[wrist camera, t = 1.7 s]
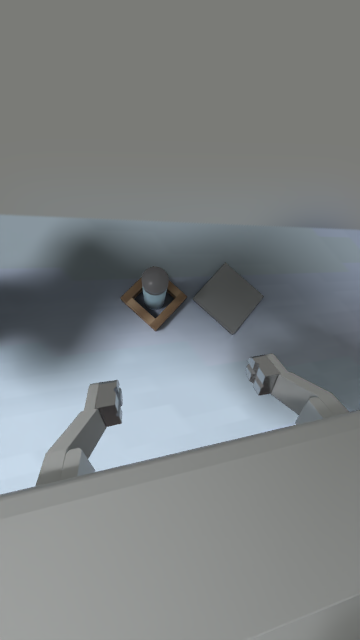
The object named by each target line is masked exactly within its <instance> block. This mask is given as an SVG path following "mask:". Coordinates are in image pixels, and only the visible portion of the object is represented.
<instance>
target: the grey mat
mask: <svg viewBox="0 0 360 640" xmlns="http://www.w3.org/2000/svg"><path fill="white" fill-rule="evenodd" d="M263 297H264V296H263V295H262V294H260V293H259V292H258V291H257V290H256V289H255V288H254V287H253V286H251V285H250V284H249V283H248V282H247V281H246V280H245V279H244V278H242V277H241V276H240V275H239V274H238V273H237V272H236V271H234V270H233V269H232V268H231V267H230V266H229V265H228V264H227V263H225V264H224V265H223V266H222V267H221V268H220V269H219V270H218V271H217V272H216V273H215V275H214V276H213V277H212V278H211V279H210V280H209V281H208V282H207V283H206V284H205V285H204V287H203V288H202V289H201V290H200V291H199V292H198V293H197V294H196V295H195V296H194V297H193V300H194V301H195V302H196V303H197V304H198V305H199V306H200V307H202V308H203V309H204V310H205V311H206V312H207V313H208V314H209V315H210V316H212V317H213V318H214V319H215V320H216V321H217V322H218V323H219V324H221V325H222V326H223V327H224V328H225V329H226V330H227V331H228V332H229V333H231V334H232V335H233V334H234V333H235V332H236V330H237V329H238V328H239V327H240V326H241V324H242V323H243V322H244V321H245V319H246V318H247V317H248V316H249V314H250V313H251V312H252V311H253V309H254V308H255V307H256V306H257V304H258V303H259V302H260V301H261V299H262V298H263Z"/></svg>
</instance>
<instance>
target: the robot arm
mask: <svg viewBox="0 0 360 640" xmlns="http://www.w3.org/2000/svg"><path fill="white" fill-rule="evenodd" d="M248 363H249V364H248V365H247V367H246V375H247V377H248V379H249V381H251V382H252V383H253V388H254V389H255V391H256V392H257V394H258V396H259V395H265V394H270V393H271V395H273V396H274V397H275V398H277V399H278V400H279V401H281V402H282V403H283V404H285V405H286V406H287V407H289V408H290V409H291V410H293V411H294V412H295V413H297V414H298V415H299V416H298V418H297V419H296V422H295V424H296V425H293V426H289V427H285V428H281V429H276V430H272V431H268V432H264V433H259V434H255V435H251V436H247V437H242V438H238V439H234V440H230V441H225V442H221V443H217V444H213V445H208V446H204V447H200V448H196V449H191V450H187V451H183V452H179V453H175V454H170V455H166V456H162V457H158V458H153V459H149V460H145V461H141V462H136V463H132V464H128V465H124V466H119V467H115V468H111V469H107V470H103V471H98V472H95V469H94V468H93V466H92V465H91V463H90V462H89V460H88V458H89V457H90V455H91V453H92V451H93V450H94V448H95V446H96V445H97V443H98V441H99V440H100V438H101V436H102V434H103V433H104V431H105V429H106V427H108V426H112V425H117V424H121V423H122V410H121V406H122V404H123V399H122V391H121V388H119V381H118V380H114V381H107V382H100V383H94V384H90V386H89V388H88V393H87V398H86V403H85V408H84V411H82V412H80V413H79V415H78V416H77V417H76V418H75V419H74V421H73V422H72V423H71V424H70V425H69V427H68V428H67V429H66V430H65V431H64V433H63V434H62V435H61V436H60V437H59V439H58V440H57V441H56V442H55V443H54V445H53V446H52V447H51V448H50V449H49V450H48V452H47V453H46V454H45V458H44V461H43V464H42V467H41V470H40V473H39V477H38V480H37V483H36V486H35V487H31V488H26V489H22V490H18V491H14V492H9V493H5V494H1V495H0V640H360V410H357V411H353V412H349V411H348V410H347V409H346V408H345V407H344V406H343V405H342V404H341V403H340V402H339V401H338V400H337V398H336V397H335V396H334V395H333V394H332V393H330V392H328V391H326V390H325V389H323V388H321V387H319V386H317V385H315V384H313V383H311V382H309V381H307V380H305V379H303V378H301V377H299V376H297V375H296V374H294V373H292V372H288V371H287V370H286V369H285V367H284V366H283V365H282V364H281V363H280V361H279V360H278V359H277V358H276V357H275V355H274V354H266V355H260V356H254V357H250V358H249V359H248Z"/></svg>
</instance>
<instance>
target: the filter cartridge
mask: <svg viewBox="0 0 360 640" xmlns="http://www.w3.org/2000/svg"><path fill="white" fill-rule="evenodd" d="M168 283H169V277H168V274H167V273H166V271H165V270H163V269H162V268H160V267H150V268H148V269H146V270H145V271H144V273H143V274H142V287H143V295H144V302H145V305H146V306H147V307H148V308H150V309H152V310H157V309H159V308H161V307H162V306H163V304H164V300H165V296H166V292H167V287H168Z"/></svg>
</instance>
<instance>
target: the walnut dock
mask: <svg viewBox="0 0 360 640" xmlns="http://www.w3.org/2000/svg"><path fill="white" fill-rule="evenodd" d="M153 267H154V266H153ZM142 291H143V287H142V277H141V278H140V279H139V280H138V281H137V282H136V283H135V284H134V285H133V286H132V287H131V288H130V289H129V290H128V291H127V292H126V293H125V294H124V295H123V296H122V297H121V300H122V301H123V302H124V303H125V304H126V305H127V306H128V307H129V308H130V309H131V310H133V311H134V312H135V313H136V314H137V315H138V316H139V317H140V318H141V319H142V320H144V321H145V322H146V323H147V324H148V325H149V326H150V327H151V328H152V329H154V330H155V331H157V329H158V328H159V327H160V326H161V325H162V324H163V323H164V322H165V321H166V320H167V319H168V318H169V317H170V315H171V314H172V313H173V312H174V311H175V310H176V309H177V308H178V307H179V306H180V305H181V304H182V302H183V301H184V300H185V299H186V298H187V296H186V295H185V294H184V293H183V292H182V291H181V290H179V289H178V288H177V287H176V286H175V285H174V284H173V283H172V282H170V281H169V283H168V287H167V293H168V294H170V295H171V296H172V297H173V298H174V300H173V301H172V302H171V303H170V304H169V305H168V306H167V307H166V308H165V309H164V310H163V311H162V312H161V314H160V315H159V316H158V317H157V318H156V319H155V318H154V317H153V316H152V315H151V314H149V313H148V312H147V311H146V310H145V309H144V308H143V307H142V306H141V305H139V304H138V303H137V302H136V301H135V300H134V299H135V298H136V297H137V296H138V295H139V294H140V293H141V292H142Z"/></svg>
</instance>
